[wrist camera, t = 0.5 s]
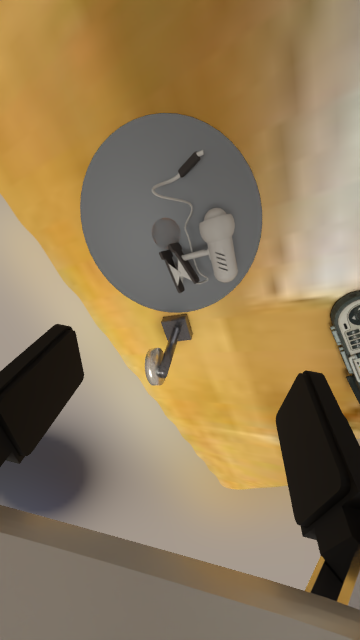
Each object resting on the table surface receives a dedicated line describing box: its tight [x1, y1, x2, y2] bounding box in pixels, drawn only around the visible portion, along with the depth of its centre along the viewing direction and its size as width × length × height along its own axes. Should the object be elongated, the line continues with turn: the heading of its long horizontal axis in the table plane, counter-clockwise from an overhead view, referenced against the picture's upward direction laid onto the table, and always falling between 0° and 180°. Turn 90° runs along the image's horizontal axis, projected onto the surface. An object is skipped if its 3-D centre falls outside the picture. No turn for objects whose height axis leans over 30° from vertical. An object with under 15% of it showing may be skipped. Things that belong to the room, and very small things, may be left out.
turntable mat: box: [80, 113, 262, 312], centre depth 38 cm, size 30×30×1 cm
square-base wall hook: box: [145, 314, 193, 385], centre depth 41 cm, size 6×5×15 cm
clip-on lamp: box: [152, 150, 238, 293], centre depth 34 cm, size 12×6×18 cm
